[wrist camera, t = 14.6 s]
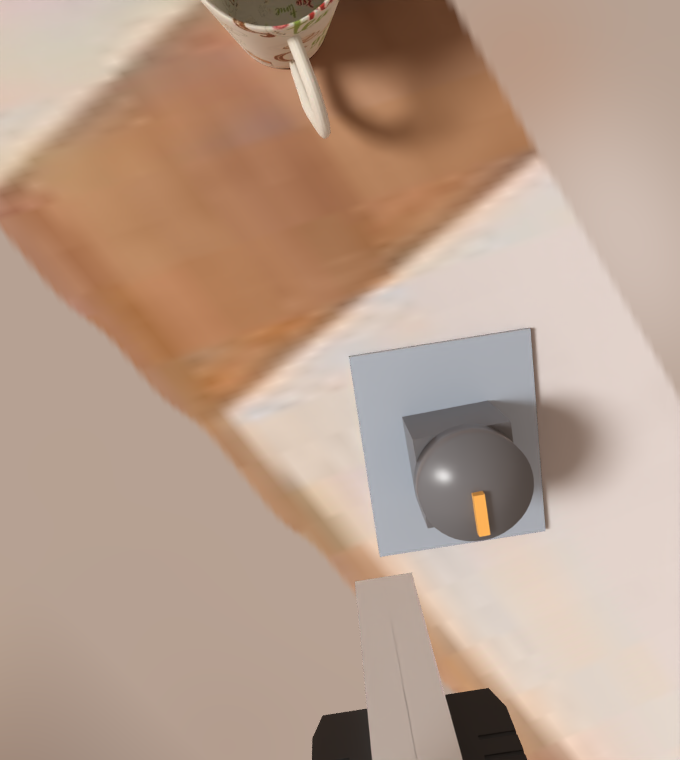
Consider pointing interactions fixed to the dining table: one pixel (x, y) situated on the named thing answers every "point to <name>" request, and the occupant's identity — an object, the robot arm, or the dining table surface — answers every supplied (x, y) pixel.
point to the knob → (468, 471)
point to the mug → (283, 41)
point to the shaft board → (435, 392)
